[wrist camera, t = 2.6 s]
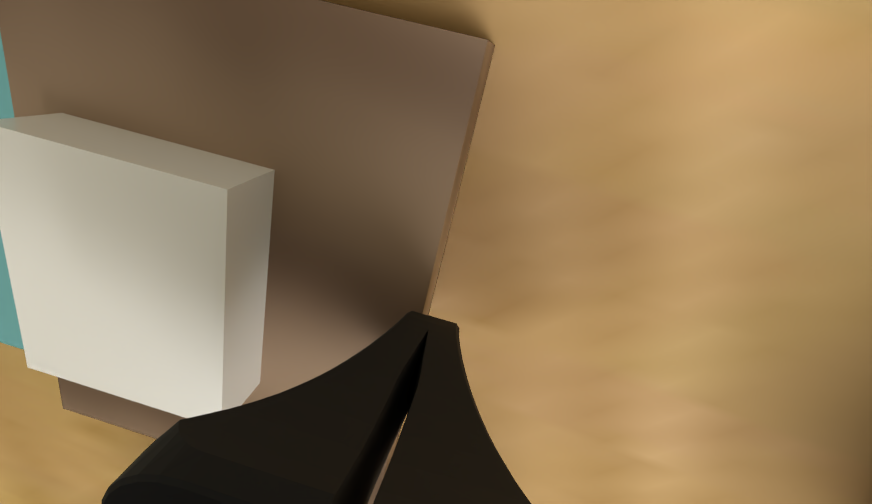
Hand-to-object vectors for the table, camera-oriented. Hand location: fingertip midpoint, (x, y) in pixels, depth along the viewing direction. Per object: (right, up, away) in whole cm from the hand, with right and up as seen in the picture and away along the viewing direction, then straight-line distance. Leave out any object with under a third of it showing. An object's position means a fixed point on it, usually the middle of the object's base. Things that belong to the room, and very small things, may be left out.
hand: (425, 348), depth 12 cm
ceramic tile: (-7, +2, +1) cm, 8 cm away
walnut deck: (-6, +3, +3) cm, 7 cm away
